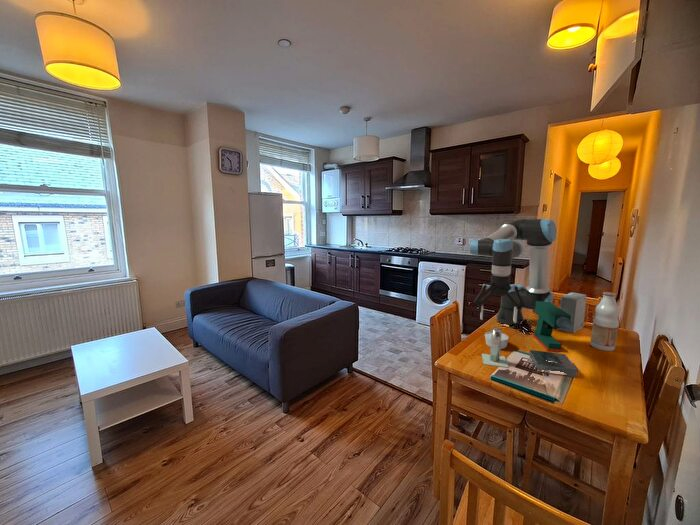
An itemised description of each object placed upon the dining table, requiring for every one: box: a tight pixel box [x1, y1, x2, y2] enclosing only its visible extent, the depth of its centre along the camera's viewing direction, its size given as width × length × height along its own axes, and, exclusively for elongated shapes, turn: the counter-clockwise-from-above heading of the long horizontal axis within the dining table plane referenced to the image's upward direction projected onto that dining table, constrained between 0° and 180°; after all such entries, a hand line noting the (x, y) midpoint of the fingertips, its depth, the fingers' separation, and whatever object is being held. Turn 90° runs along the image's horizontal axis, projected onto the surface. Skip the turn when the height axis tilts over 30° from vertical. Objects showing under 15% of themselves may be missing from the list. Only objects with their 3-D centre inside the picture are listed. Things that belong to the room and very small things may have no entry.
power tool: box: [531, 301, 573, 353], centre depth 142 cm, size 32×7×20 cm, turn 168°
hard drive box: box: [557, 291, 587, 334], centre depth 167 cm, size 16×8×20 cm, turn 124°
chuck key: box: [489, 326, 503, 362], centre depth 132 cm, size 4×8×15 cm, turn 161°
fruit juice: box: [590, 291, 621, 352], centre depth 143 cm, size 9×9×28 cm
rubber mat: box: [481, 353, 509, 368], centre depth 134 cm, size 10×10×1 cm
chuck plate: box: [528, 349, 578, 378], centre depth 128 cm, size 14×14×4 cm
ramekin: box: [484, 331, 510, 350], centre depth 149 cm, size 11×11×5 cm
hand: (497, 320), depth 131 cm, fingers open, 13 cm apart
